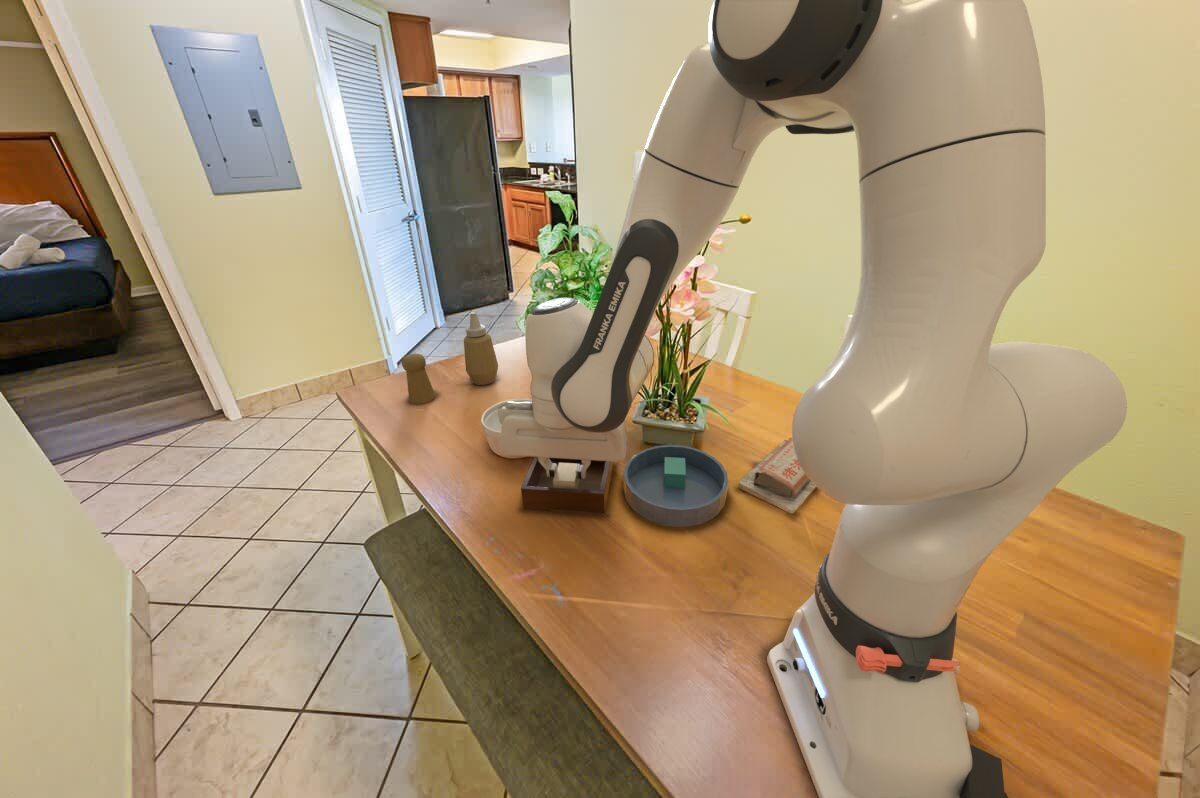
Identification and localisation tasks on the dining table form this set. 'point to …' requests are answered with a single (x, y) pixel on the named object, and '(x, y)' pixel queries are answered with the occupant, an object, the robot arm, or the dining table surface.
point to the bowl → (675, 504)
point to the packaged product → (779, 479)
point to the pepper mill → (417, 379)
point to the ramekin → (496, 428)
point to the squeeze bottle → (479, 353)
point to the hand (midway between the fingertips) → (566, 475)
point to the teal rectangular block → (674, 472)
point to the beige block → (566, 476)
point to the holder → (583, 499)
